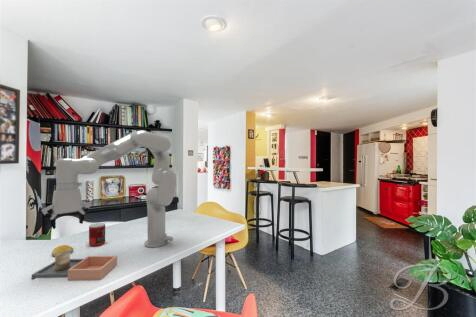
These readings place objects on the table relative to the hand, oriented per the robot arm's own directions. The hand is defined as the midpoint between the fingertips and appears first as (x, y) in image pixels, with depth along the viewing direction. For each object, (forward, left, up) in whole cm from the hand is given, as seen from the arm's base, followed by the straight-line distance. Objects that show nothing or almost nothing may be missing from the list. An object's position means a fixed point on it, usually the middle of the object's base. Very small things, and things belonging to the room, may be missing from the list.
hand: (67, 225), depth 99 cm
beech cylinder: (+1, +2, -18) cm, 18 cm away
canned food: (+4, -28, -19) cm, 34 cm away
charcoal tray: (+1, +2, -19) cm, 19 cm away
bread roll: (+14, -16, -19) cm, 29 cm away
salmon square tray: (-14, +5, -19) cm, 24 cm away
